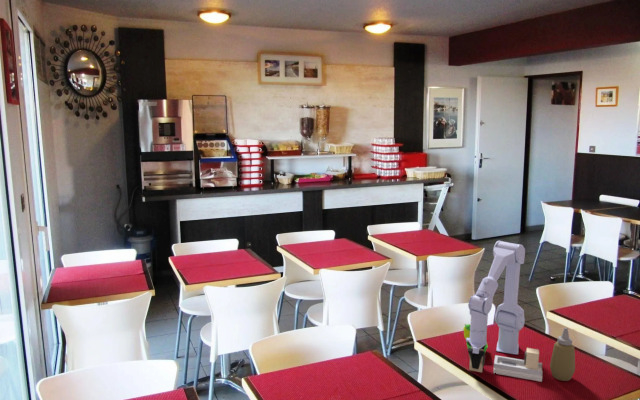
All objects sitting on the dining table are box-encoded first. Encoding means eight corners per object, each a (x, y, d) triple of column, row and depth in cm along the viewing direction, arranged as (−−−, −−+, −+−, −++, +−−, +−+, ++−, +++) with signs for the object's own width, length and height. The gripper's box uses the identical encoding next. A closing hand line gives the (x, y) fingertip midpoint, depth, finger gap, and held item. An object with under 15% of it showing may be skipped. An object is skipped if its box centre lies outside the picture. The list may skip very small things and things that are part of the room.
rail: (494, 361, 197) (496, 339, 196) (541, 369, 191) (543, 347, 190) (493, 373, 188) (494, 350, 187) (541, 381, 182) (543, 358, 181)
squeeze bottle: (572, 374, 188) (577, 325, 185) (575, 384, 180) (580, 334, 178) (548, 370, 191) (552, 322, 188) (549, 380, 183) (554, 331, 180)
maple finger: (470, 365, 194) (471, 347, 192) (484, 367, 192) (485, 349, 191) (469, 370, 190) (470, 351, 189) (483, 372, 188) (484, 354, 187)
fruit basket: (487, 360, 198) (489, 331, 196) (462, 357, 200) (464, 329, 198) (484, 347, 209) (486, 320, 207) (461, 345, 211) (462, 318, 209)
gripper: (469, 319, 197) (466, 354, 199) (464, 334, 183) (462, 371, 185) (488, 322, 194) (486, 357, 196) (486, 337, 181) (483, 375, 183)
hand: (476, 364), depth 191 cm, fingers open, 6 cm apart
